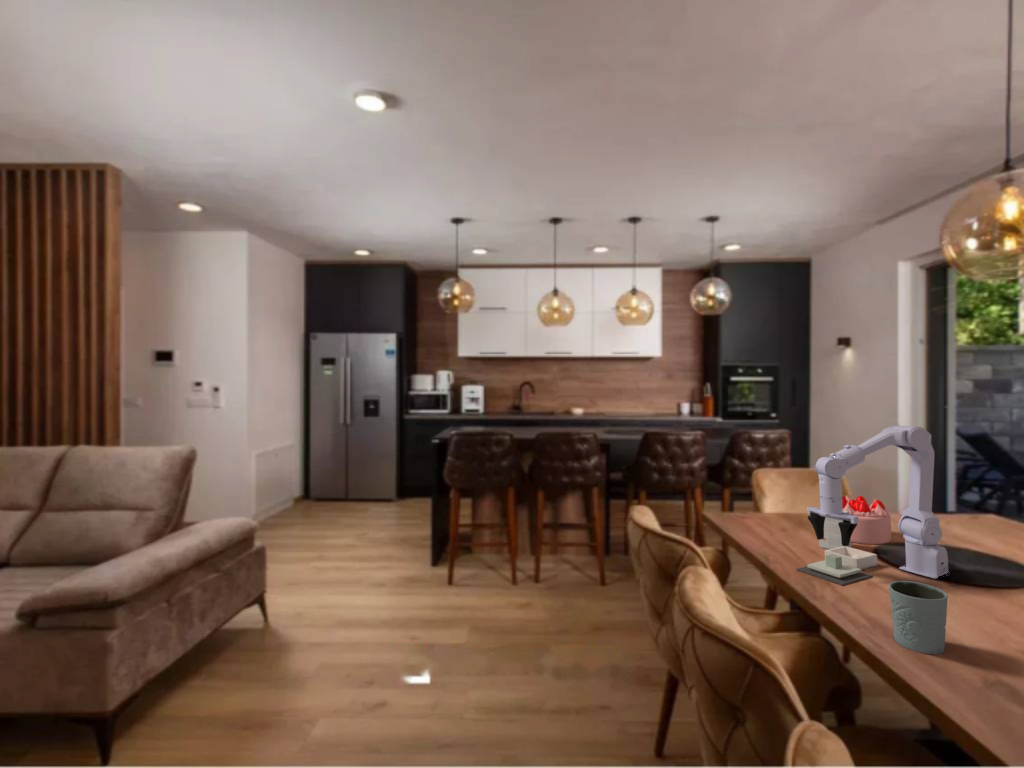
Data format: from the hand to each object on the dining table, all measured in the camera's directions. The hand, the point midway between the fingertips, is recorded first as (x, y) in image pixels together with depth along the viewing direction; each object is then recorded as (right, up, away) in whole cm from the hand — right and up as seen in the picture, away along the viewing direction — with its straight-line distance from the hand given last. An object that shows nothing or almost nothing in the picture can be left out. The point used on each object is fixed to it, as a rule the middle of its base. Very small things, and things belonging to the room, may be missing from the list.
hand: (832, 542), depth 151 cm
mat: (0, -9, 0) cm, 9 cm away
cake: (+32, -9, +35) cm, 49 cm away
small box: (+16, -10, +23) cm, 30 cm away
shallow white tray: (+11, -9, +8) cm, 16 cm away
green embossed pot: (-8, -9, -42) cm, 44 cm away
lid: (0, -8, 0) cm, 8 cm away
